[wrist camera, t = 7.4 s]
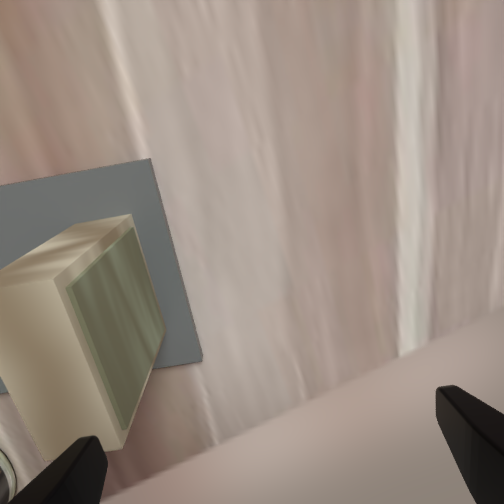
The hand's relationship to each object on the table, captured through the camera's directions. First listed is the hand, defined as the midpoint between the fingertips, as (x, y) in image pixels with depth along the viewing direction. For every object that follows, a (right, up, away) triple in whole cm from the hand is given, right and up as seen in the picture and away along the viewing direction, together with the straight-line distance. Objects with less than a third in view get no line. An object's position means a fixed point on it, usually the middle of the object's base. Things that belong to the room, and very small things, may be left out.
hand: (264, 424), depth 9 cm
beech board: (-7, +3, +11) cm, 13 cm away
